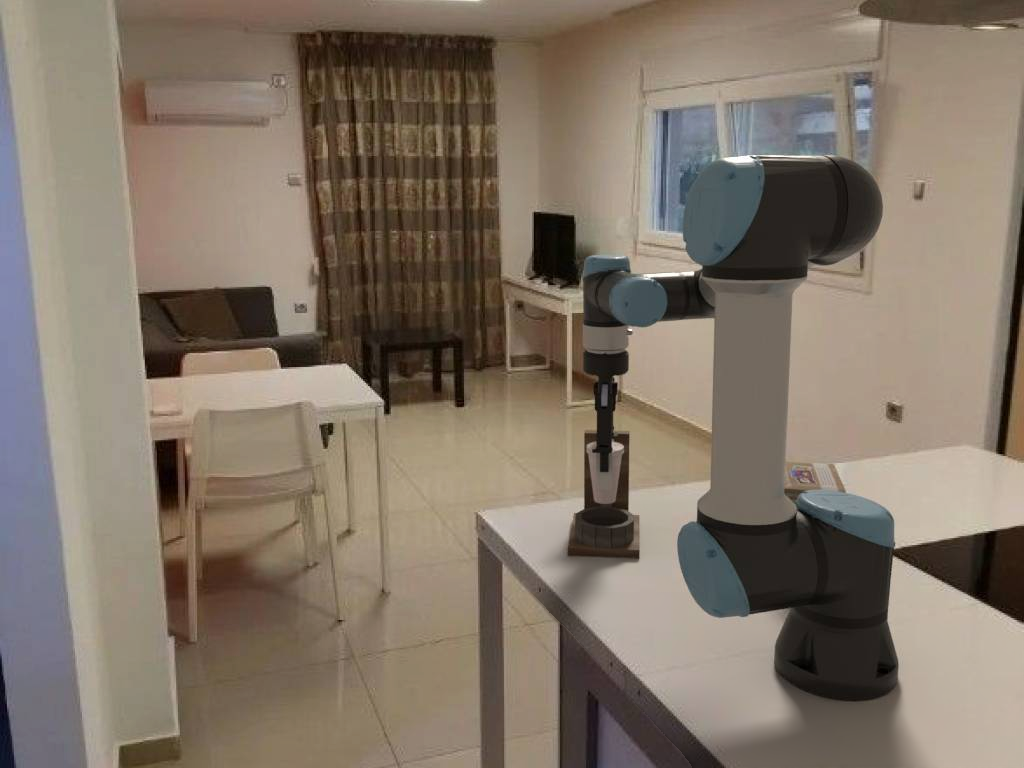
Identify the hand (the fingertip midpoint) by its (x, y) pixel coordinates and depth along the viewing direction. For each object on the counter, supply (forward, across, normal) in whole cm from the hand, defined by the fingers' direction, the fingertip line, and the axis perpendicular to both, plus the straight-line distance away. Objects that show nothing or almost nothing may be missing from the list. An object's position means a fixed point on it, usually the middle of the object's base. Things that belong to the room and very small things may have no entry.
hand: (604, 481), depth 158 cm
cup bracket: (+11, +2, 0) cm, 12 cm away
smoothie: (+4, 0, 0) cm, 4 cm away
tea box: (+12, -3, -33) cm, 35 cm away
